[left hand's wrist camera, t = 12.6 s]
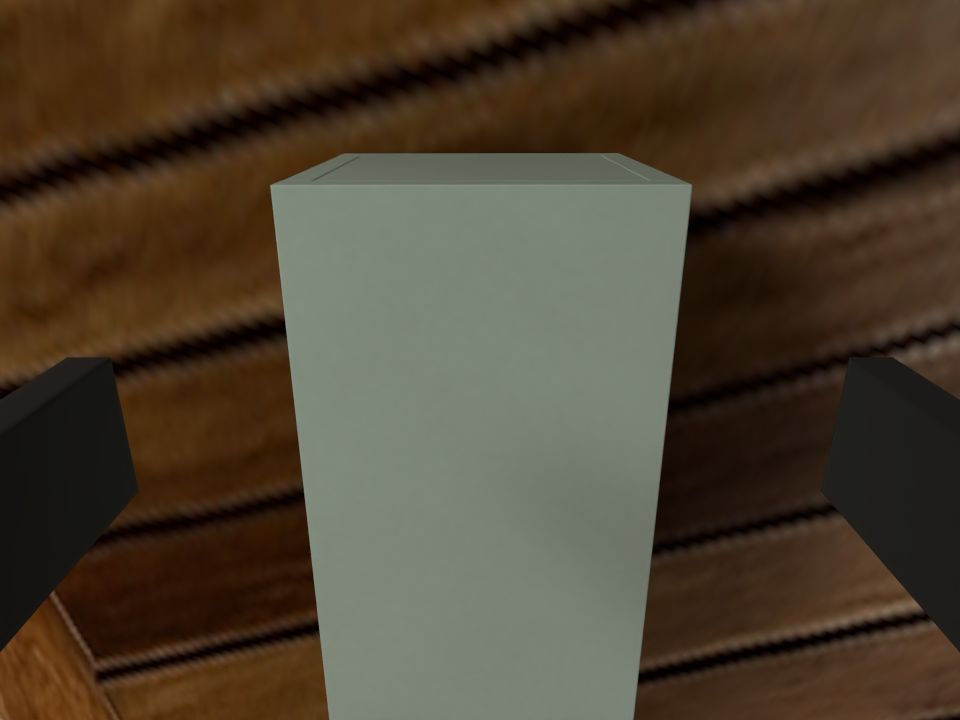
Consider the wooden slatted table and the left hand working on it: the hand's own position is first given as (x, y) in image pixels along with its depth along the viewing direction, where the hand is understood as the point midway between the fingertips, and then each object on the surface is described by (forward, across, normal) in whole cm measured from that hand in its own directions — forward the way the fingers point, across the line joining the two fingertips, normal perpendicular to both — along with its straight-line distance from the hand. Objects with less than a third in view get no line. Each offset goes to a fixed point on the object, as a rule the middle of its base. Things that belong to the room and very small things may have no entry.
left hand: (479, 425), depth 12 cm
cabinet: (+18, 0, -7) cm, 19 cm away
